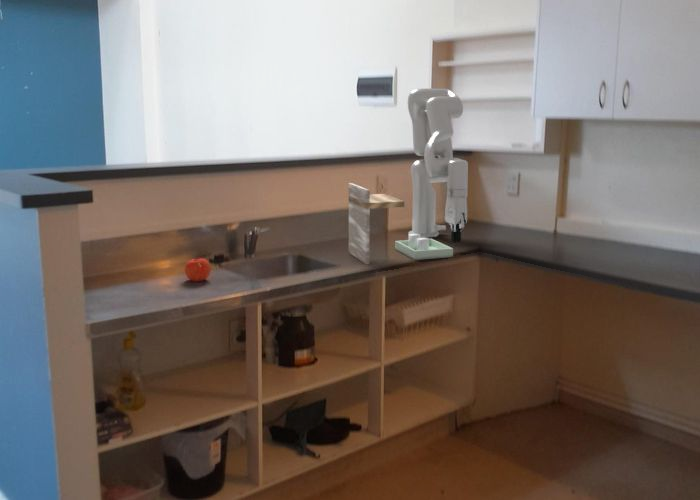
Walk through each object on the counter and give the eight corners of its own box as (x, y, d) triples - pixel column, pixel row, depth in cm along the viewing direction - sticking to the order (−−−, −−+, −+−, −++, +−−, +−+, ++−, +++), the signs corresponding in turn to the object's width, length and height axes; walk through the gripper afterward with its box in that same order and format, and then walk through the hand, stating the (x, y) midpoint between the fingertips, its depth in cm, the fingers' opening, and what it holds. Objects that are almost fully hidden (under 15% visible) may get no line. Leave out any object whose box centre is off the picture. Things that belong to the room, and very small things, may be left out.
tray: (431, 246, 276) (431, 238, 275) (452, 257, 258) (453, 248, 257) (395, 249, 271) (395, 241, 270) (414, 260, 253) (414, 251, 253)
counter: (383, 250, 270) (384, 181, 265) (403, 261, 252) (404, 188, 246) (348, 252, 266) (348, 183, 260) (366, 264, 247) (366, 190, 242)
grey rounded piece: (417, 247, 270) (417, 233, 269) (421, 249, 266) (422, 235, 265) (406, 248, 269) (406, 234, 268) (411, 250, 265) (411, 236, 264)
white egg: (425, 251, 263) (426, 237, 262) (430, 254, 259) (431, 239, 257) (414, 252, 261) (415, 238, 260) (419, 255, 257) (419, 240, 256)
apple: (213, 282, 224) (212, 257, 223) (187, 284, 221) (186, 259, 220) (208, 276, 232) (206, 252, 230) (183, 278, 228) (181, 254, 227)
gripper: (439, 191, 269) (438, 239, 273) (456, 195, 255) (455, 246, 259) (457, 190, 272) (456, 238, 275) (475, 195, 258) (474, 244, 261)
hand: (456, 241), depth 267 cm, fingers closed
